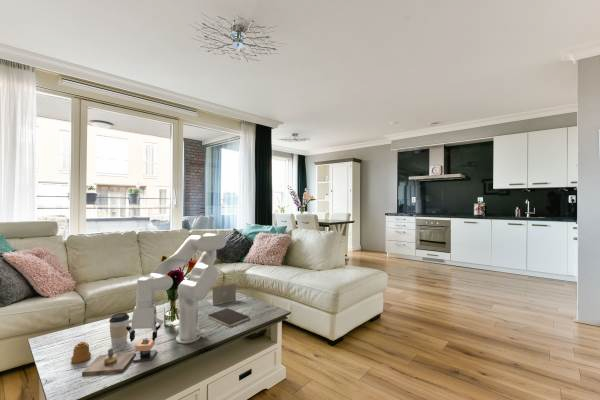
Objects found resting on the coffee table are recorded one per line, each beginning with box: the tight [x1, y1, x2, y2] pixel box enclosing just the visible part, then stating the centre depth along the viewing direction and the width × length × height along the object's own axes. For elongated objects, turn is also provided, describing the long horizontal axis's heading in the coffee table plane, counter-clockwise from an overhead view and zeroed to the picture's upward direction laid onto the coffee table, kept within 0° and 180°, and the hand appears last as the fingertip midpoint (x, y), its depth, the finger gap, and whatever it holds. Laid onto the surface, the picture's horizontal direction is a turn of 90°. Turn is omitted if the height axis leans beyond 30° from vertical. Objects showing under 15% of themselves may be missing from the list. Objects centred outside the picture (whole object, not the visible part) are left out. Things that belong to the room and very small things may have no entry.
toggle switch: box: [81, 347, 137, 377], centre depth 131 cm, size 16×14×8 cm
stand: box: [132, 337, 158, 363], centre depth 138 cm, size 8×8×8 cm
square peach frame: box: [134, 338, 156, 352], centre depth 138 cm, size 6×6×2 cm
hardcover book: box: [207, 307, 250, 328], centre depth 184 cm, size 16×23×2 cm
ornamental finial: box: [70, 341, 92, 364], centre depth 135 cm, size 8×8×8 cm
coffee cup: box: [109, 312, 130, 347], centre depth 152 cm, size 9×9×15 cm
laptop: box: [206, 283, 237, 306], centre depth 218 cm, size 18×12×13 cm
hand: (143, 339), depth 137 cm, fingers open, 9 cm apart
